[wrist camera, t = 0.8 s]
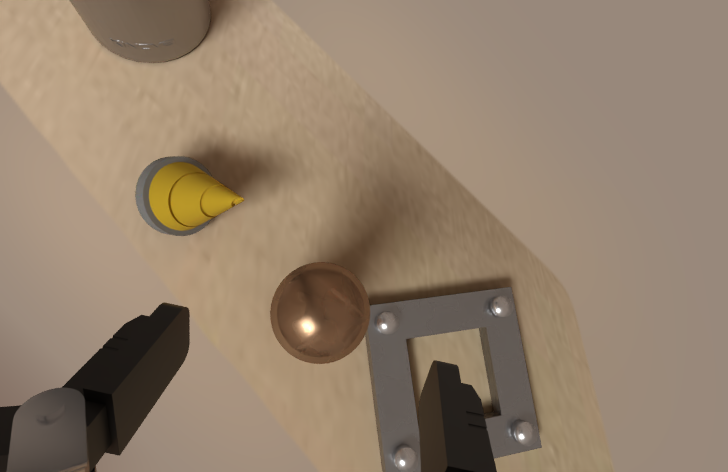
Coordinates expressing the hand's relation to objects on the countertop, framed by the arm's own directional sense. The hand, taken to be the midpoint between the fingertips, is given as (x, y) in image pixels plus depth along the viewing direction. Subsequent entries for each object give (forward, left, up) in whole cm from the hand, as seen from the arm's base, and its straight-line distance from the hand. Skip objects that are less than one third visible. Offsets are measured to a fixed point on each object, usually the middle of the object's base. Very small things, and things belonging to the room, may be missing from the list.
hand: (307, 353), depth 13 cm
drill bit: (-10, -6, -17) cm, 21 cm away
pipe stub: (-1, +1, -17) cm, 17 cm away
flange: (+5, +11, -17) cm, 21 cm away
